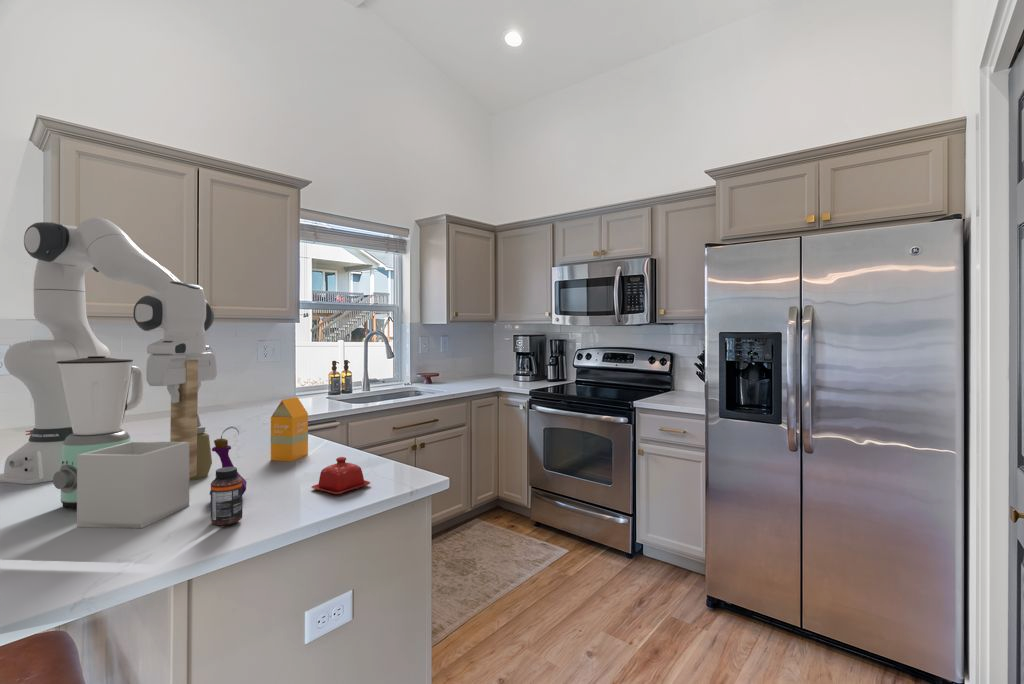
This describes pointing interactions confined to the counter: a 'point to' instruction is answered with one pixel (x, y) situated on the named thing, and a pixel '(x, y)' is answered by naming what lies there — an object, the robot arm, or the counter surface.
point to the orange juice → (289, 431)
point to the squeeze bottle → (202, 452)
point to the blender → (94, 411)
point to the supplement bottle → (226, 497)
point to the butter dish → (341, 477)
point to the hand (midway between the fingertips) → (184, 401)
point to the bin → (132, 484)
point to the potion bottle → (226, 455)
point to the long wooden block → (187, 414)
